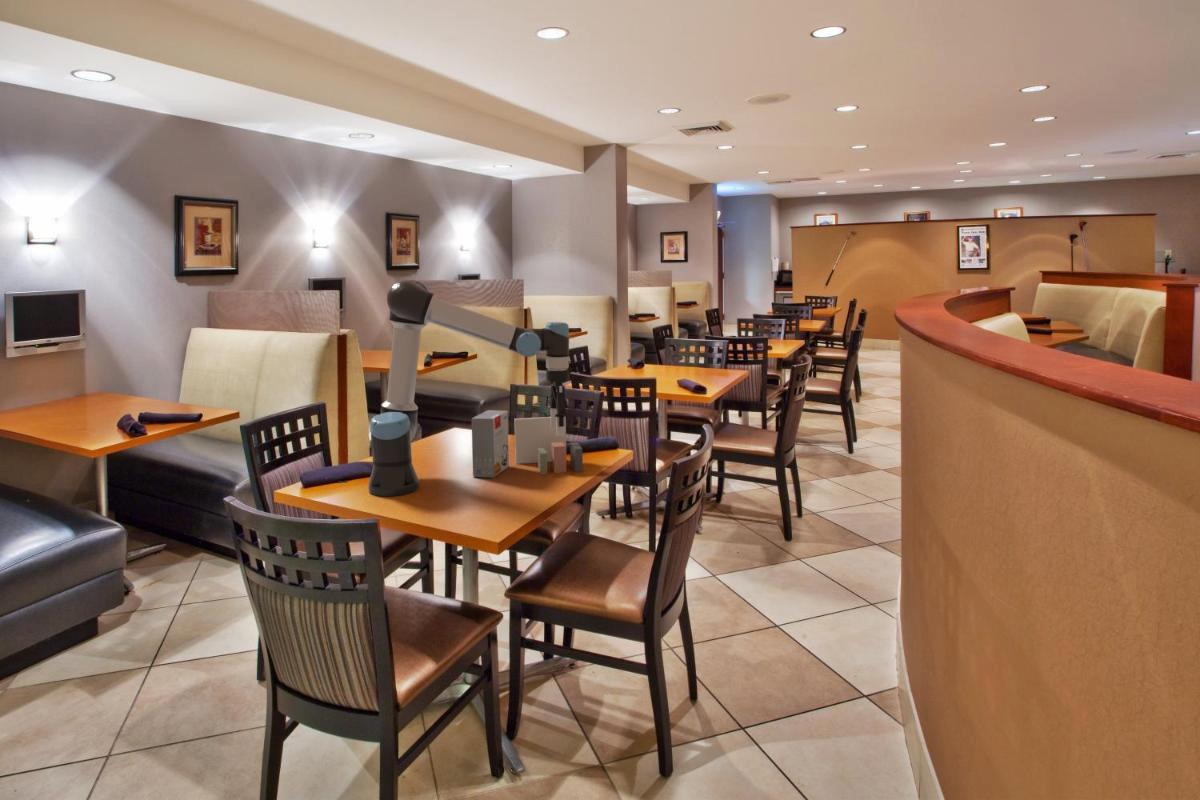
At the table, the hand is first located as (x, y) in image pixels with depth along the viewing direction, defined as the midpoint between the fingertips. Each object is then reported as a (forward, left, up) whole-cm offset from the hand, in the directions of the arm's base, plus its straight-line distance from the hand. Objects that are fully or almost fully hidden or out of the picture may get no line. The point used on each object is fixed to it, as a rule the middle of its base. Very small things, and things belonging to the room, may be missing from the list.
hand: (557, 431), depth 238 cm
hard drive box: (-22, +3, -14) cm, 26 cm away
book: (0, 0, -13) cm, 13 cm away
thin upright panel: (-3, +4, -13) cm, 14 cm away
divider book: (-5, 0, -13) cm, 14 cm away
